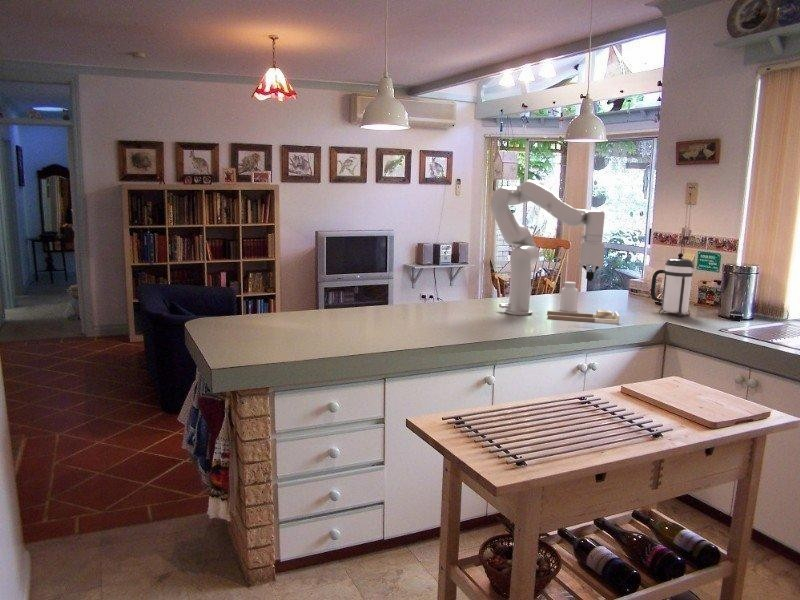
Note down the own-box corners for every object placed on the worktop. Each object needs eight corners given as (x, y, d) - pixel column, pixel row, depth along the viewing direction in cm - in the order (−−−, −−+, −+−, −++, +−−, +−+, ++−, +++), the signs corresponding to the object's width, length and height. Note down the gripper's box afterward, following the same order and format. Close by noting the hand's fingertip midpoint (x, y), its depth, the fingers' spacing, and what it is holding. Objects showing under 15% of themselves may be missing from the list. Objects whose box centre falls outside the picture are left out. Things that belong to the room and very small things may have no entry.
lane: (547, 322, 280) (548, 310, 279) (546, 317, 291) (547, 306, 291) (618, 327, 274) (619, 315, 273) (615, 322, 285) (616, 311, 285)
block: (597, 320, 279) (598, 311, 278) (596, 318, 284) (596, 309, 284) (611, 321, 277) (612, 312, 277) (610, 319, 283) (610, 310, 283)
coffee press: (684, 311, 318) (690, 252, 313) (695, 317, 303) (702, 255, 298) (648, 310, 320) (654, 250, 315) (657, 316, 304) (664, 253, 299)
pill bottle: (557, 313, 301) (559, 282, 299) (561, 311, 308) (564, 280, 306) (574, 315, 298) (577, 283, 295) (578, 313, 305) (580, 282, 302)
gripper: (576, 238, 274) (572, 280, 277) (612, 240, 271) (608, 283, 274) (575, 237, 281) (571, 278, 284) (610, 239, 278) (606, 280, 281)
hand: (589, 280), depth 279 cm, fingers closed
